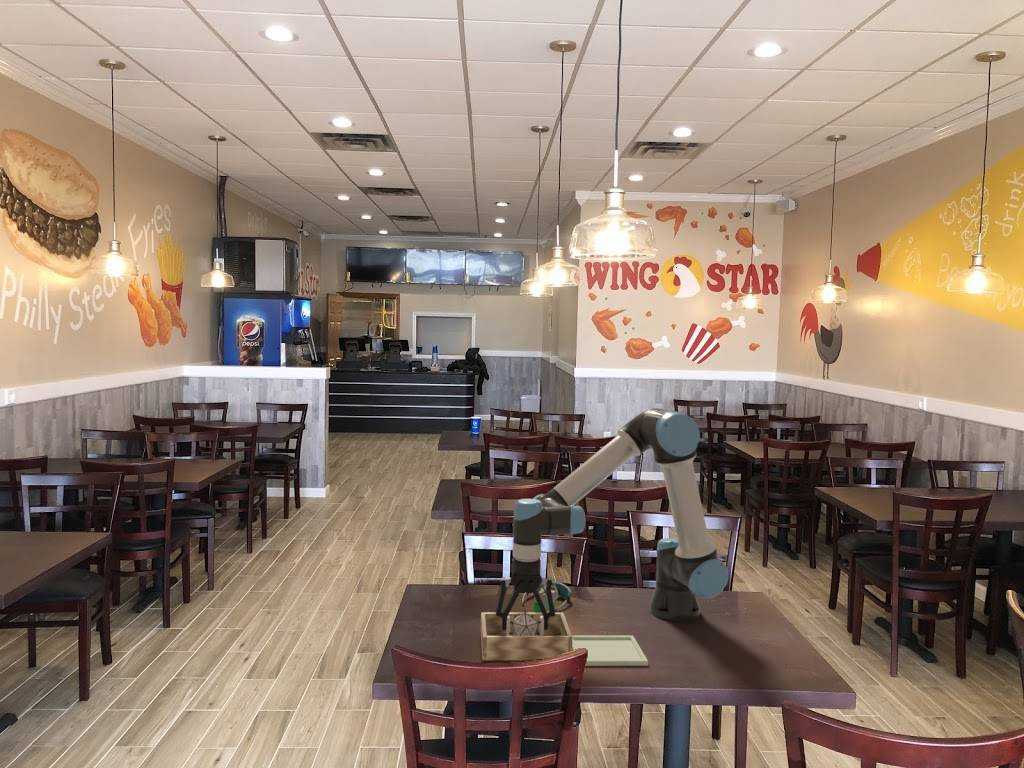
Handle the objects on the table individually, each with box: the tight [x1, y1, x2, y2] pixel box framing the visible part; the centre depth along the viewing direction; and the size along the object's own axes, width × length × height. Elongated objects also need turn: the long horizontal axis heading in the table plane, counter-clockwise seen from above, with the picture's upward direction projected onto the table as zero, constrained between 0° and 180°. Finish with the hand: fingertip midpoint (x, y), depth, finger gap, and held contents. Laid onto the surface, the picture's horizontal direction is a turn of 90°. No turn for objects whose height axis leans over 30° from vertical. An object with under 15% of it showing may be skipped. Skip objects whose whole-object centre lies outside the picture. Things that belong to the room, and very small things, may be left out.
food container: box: [533, 583, 559, 613], centre depth 221 cm, size 12×6×10 cm, turn 168°
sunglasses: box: [522, 580, 572, 612], centre depth 238 cm, size 14×15×5 cm
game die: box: [509, 609, 541, 636], centre depth 204 cm, size 9×8×10 cm
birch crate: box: [480, 611, 573, 661], centre depth 204 cm, size 23×18×6 cm
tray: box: [571, 634, 649, 667], centre depth 202 cm, size 18×17×1 cm
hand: (524, 641), depth 204 cm, fingers closed on game die, 8 cm apart
